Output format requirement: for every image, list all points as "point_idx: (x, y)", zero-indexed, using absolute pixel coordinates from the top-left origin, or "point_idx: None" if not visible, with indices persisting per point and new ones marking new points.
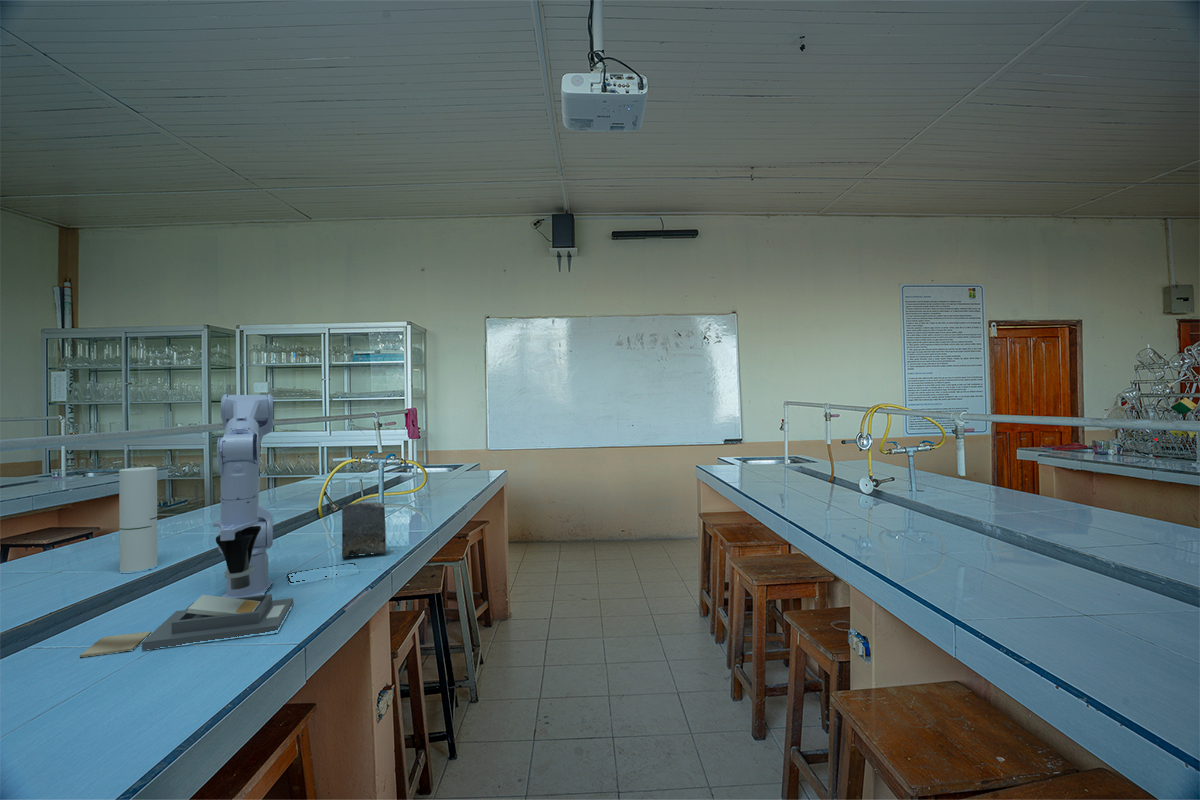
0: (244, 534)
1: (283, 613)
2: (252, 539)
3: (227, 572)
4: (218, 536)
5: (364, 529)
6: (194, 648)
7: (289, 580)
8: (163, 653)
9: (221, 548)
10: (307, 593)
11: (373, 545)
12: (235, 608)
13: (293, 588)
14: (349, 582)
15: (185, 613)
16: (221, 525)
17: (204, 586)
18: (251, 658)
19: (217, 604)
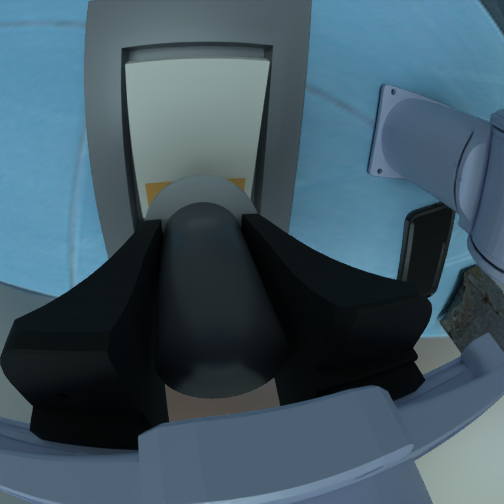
0: (294, 385)
1: None
2: (277, 376)
3: (177, 198)
4: (50, 363)
5: (474, 329)
6: (71, 115)
7: (422, 213)
8: (65, 60)
9: (61, 300)
10: (342, 256)
11: (453, 319)
12: (174, 174)
13: (387, 223)
14: None
15: (181, 40)
16: (29, 498)
17: (472, 61)
18: (23, 248)
19: (188, 124)
